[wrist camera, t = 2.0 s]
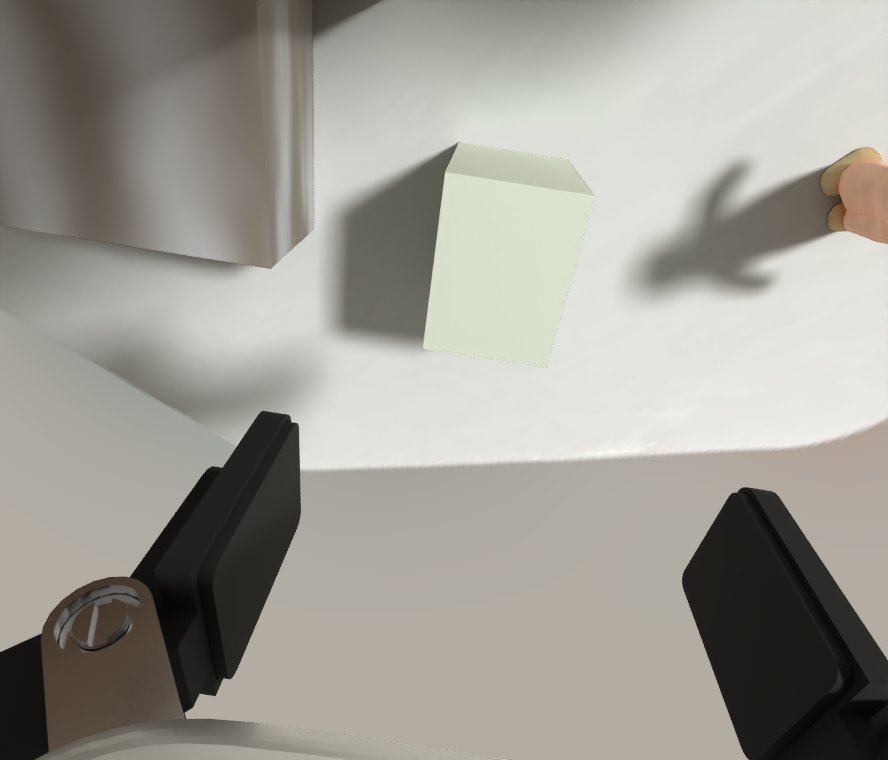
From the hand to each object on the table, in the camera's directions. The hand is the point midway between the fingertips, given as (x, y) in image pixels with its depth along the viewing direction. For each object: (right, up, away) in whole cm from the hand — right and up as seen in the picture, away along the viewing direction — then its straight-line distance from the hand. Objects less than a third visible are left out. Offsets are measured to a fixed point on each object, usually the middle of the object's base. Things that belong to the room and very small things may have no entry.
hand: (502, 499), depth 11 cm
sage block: (+2, +12, +19) cm, 22 cm away
